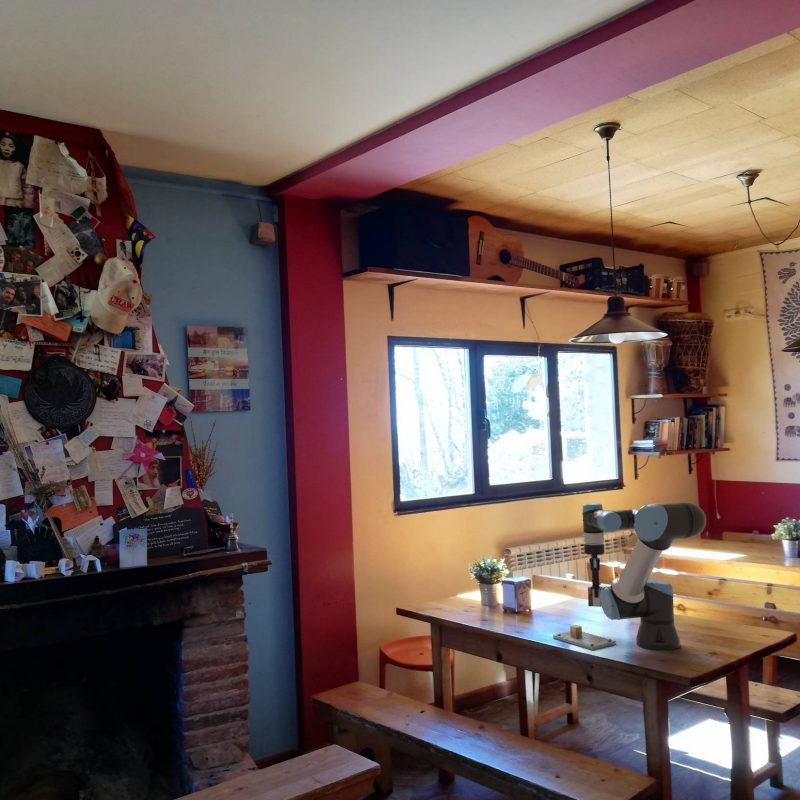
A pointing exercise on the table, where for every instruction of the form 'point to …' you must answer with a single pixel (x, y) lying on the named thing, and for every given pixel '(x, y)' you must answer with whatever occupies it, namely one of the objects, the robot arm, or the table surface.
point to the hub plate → (583, 638)
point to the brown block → (590, 597)
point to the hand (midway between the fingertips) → (596, 603)
